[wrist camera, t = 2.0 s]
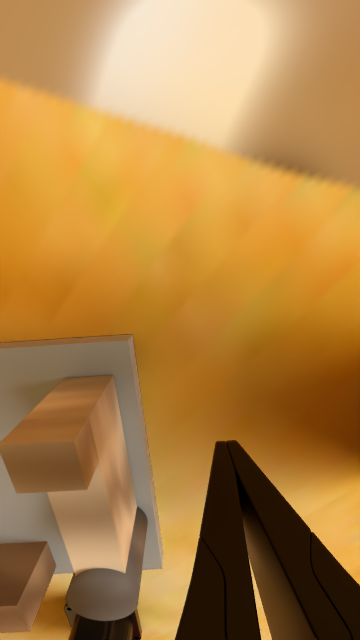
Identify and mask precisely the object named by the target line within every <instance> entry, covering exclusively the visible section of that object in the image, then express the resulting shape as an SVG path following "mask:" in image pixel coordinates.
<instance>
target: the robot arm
mask: <svg viewBox="0 0 360 640" xmlns="http://www.w3.org/2000/svg"><path fill="white" fill-rule="evenodd" d="M248 555H249V557H248ZM249 559H250V563H251V566H252V570H253V573H254V577H255V580H256V584H257V587H258V591H259V594H260V598H261V601H262V605H263V609H264V612H265V616H266V619H267V623H268V626H269V630H270V633H271V637H272V640H360V585H359V584H358V583H357V582H356V581H355V580H354V579H353V578H352V577H351V576H350V574H349V573H348V572H347V571H346V570H345V569H344V568H343V567H342V566H341V564H340V563H339V562H338V561H337V560H336V559H335V558H334V556H333V555H332V554H331V553H330V552H329V551H328V549H327V548H326V547H325V546H324V545H323V544H322V542H321V541H320V540H319V539H318V538H317V536H316V535H315V534H314V533H313V532H311V530H310V528H309V527H308V526H307V524H306V523H305V522H304V521H303V520H302V519H301V517H300V516H299V515H298V514H297V513H296V511H295V510H294V509H293V508H292V507H291V505H290V504H289V503H288V502H287V501H286V499H285V498H284V497H283V496H282V495H281V493H280V492H279V491H278V490H277V489H276V487H275V486H274V485H273V484H272V483H271V481H270V480H269V479H268V478H267V477H266V475H265V474H264V473H263V472H262V471H261V469H260V468H259V467H258V466H257V465H256V463H255V462H254V461H253V460H252V459H251V457H250V456H249V455H248V454H247V453H246V452H245V450H244V449H243V448H242V447H241V446H240V444H239V443H238V442H237V441H236V440H230V441H226V442H225V441H217V442H216V443H215V449H214V455H213V461H212V466H211V472H210V478H209V484H208V490H207V495H206V501H205V507H204V513H203V518H202V524H201V530H200V538H199V541H198V547H197V552H196V558H195V563H194V567H193V572H192V577H191V581H190V585H189V589H188V593H187V597H186V601H185V605H184V609H183V612H182V616H181V619H180V623H179V627H178V630H177V634H176V637H175V640H261V635H260V629H259V622H258V616H257V609H256V603H255V596H254V590H253V583H252V577H251V570H250V564H249ZM64 610H65V613H66V615H67V618H68V620H69V623H70V625H71V628H72V629H71V633H70V636H69V639H68V640H140V639H141V633H142V630H141V625H140V621H139V616H138V612H137V608H136V609H135V611H134V612H133V613H132V614H130V615H129V616H127V617H125V618H122V619H118V620H113V621H98V620H92V619H88V618H85V617H83V616H81V615H79V614H77V613H75V612H74V611H73V610H72V609H71V608H70V607H69V606H68V604H67V602H66V604H65V607H64Z"/></svg>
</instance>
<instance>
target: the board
mask: <svg viewBox="0 0 360 640" xmlns="http://www.w3.org/2000/svg"><path fill="white" fill-rule="evenodd" d="M104 375H113V376H114V381H115V387H116V393H117V398H118V404H119V409H120V415H121V420H122V426H123V432H124V437H125V443H126V448H127V454H128V459H129V465H130V470H131V476H132V482H133V487H134V493H135V498H136V504H137V507H139V508H140V509H141V510H142V511H143V512H144V513H145V514H146V516H147V519H148V525H147V533H146V541H145V549H144V557H143V565H142V570H147V569H162V564H163V547H162V540H161V533H160V526H159V519H158V512H157V505H156V498H155V491H154V484H153V477H152V470H151V463H150V456H149V449H148V441H147V434H146V427H145V420H144V413H143V406H142V399H141V392H140V385H139V378H138V371H137V364H136V357H135V350H134V343H133V336H132V334H125V335H110V336H95V337H80V338H65V339H50V340H35V341H19V342H4V343H0V442H1V441H2V440H3V439H4V438H5V437H6V436H7V435H8V434H9V433H10V432H11V431H12V430H13V429H14V428H15V427H16V426H17V425H18V424H19V423H20V422H21V421H22V420H23V419H24V418H25V417H26V416H27V415H28V414H29V413H30V412H31V411H32V410H33V409H34V408H35V407H36V406H37V405H38V404H39V403H40V402H41V401H42V400H43V399H44V398H45V397H46V396H47V395H48V394H49V393H50V392H51V391H52V390H53V389H54V388H55V387H56V386H57V385H58V384H59V383H60V382H61V381H62V380H63V379H64V378H72V377H88V376H104ZM26 542H48V545H49V547H50V550H51V553H52V555H53V558H54V561H55V563H56V568H55V571H54V573H53V574H61V573H74V570H73V567H72V564H71V561H70V558H69V555H68V552H67V549H66V546H65V543H64V540H63V538H62V535H61V532H60V529H59V526H58V523H57V520H56V517H55V514H54V511H53V508H52V505H51V502H50V500H49V497H48V494H47V492H39V493H21V494H16V491H15V489H14V486H13V484H12V481H11V479H10V476H9V474H8V471H7V469H6V466H5V464H4V461H3V459H2V456H1V454H0V544H6V543H26Z"/></svg>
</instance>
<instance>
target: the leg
mask: <svg viewBox="0 0 360 640" xmlns="http://www.w3.org/2000/svg"><path fill="white" fill-rule="evenodd" d="M0 454H1V456H2V459H3V461H4V464H5V466H6V469H7V471H8V474H9V476H10V479H11V481H12V484H13V486H14V489H15V491H16V494H21V493H39V492H47V494H48V497H49V500H50V502H51V505H52V508H53V511H54V514H55V517H56V520H57V523H58V526H59V529H60V532H61V535H62V538H63V540H64V543H65V546H66V549H67V552H68V555H69V558H70V561H71V564H72V567H73V570H74V574H73V577H72V580H71V583H70V586H69V588H68V591H67V594H66V602H67V604H68V606H69V607H70V608H71V609H72V610H73V611H74V612H75V613H77V614H79V615H81V616H83V617H85V618H88V619H92V620H98V621H113V620H118V619H122V618H125V617H127V616H129V615H130V614H132V613H133V612H134V611H135V609H136V608H137V605H138V598H139V590H140V582H141V574H142V565H143V557H144V549H145V541H146V533H147V525H148V519H147V516H146V514H145V513H144V512H143V511H142V510H141V509H140V508H139V507H137V504H136V498H135V493H134V487H133V482H132V476H131V470H130V465H129V459H128V454H127V448H126V443H125V437H124V432H123V426H122V420H121V415H120V409H119V404H118V398H117V393H116V387H115V381H114V376H113V375H104V376H88V377H72V378H64V379H63V380H62V381H61V382H60V383H59V384H58V385H57V386H56V387H55V388H54V389H53V390H52V391H51V392H50V393H49V394H48V395H47V396H46V397H45V398H44V399H43V400H42V401H41V402H40V403H39V404H38V405H37V406H36V407H35V408H34V409H33V410H32V411H31V412H30V413H29V414H28V415H27V416H26V417H25V418H24V419H23V420H22V421H21V422H20V423H19V424H18V425H17V426H16V427H15V428H14V429H13V430H12V431H11V432H10V433H9V434H8V435H7V436H6V437H5V438H4V439H3V440H2V441H1V442H0Z"/></svg>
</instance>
